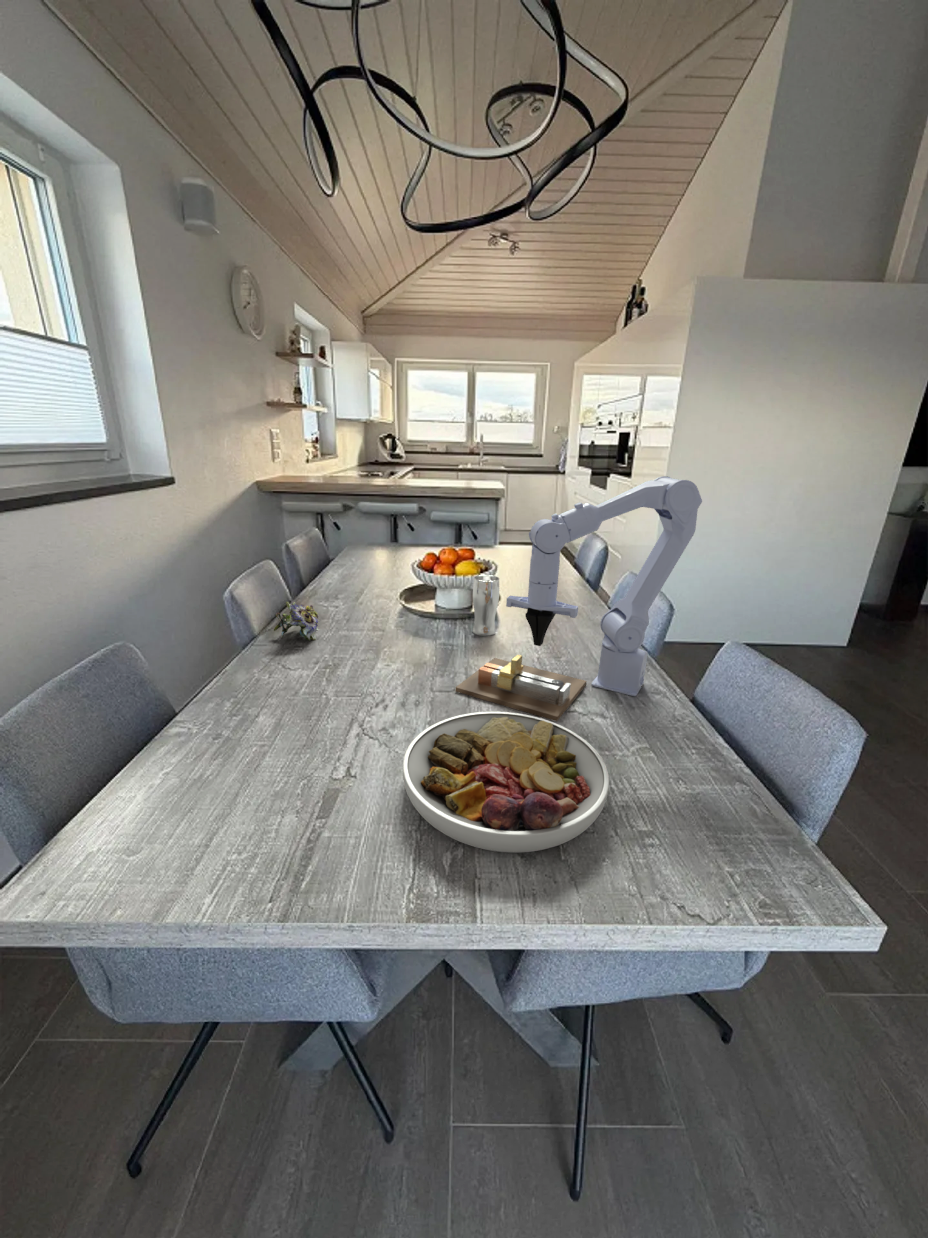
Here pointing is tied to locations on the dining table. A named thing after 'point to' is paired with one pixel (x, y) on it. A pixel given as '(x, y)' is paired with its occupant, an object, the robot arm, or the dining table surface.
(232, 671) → the dining table surface
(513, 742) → the bowl
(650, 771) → the dining table surface
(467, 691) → the walnut board
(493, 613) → the beer glass
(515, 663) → the brass ring
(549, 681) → the hinged tong arm
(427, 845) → the dining table surface
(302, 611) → the passion flower
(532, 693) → the fixed tong arm
